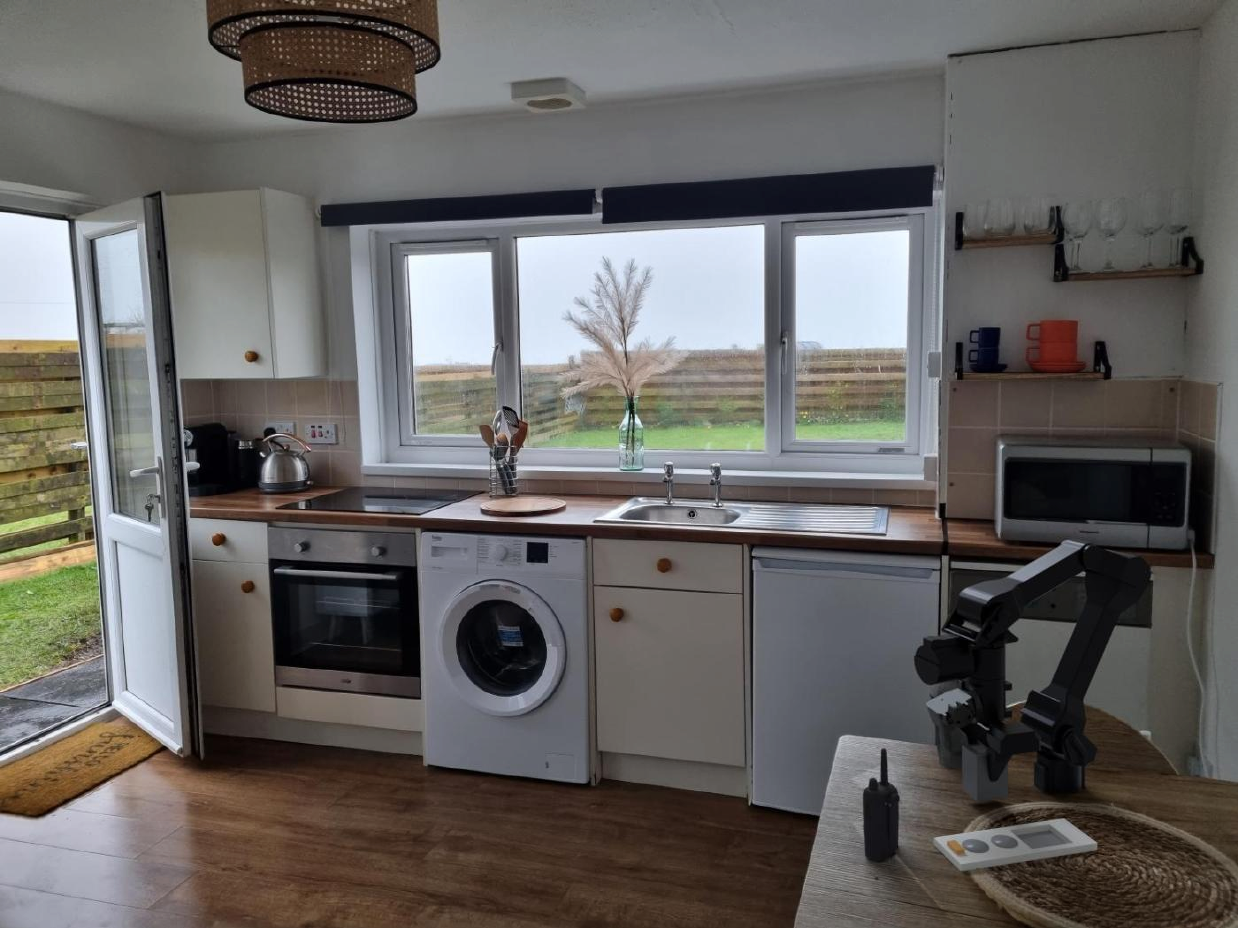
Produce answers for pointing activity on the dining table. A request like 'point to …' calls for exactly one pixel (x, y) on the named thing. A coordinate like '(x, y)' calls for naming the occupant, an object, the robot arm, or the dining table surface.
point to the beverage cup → (948, 735)
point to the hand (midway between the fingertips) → (985, 774)
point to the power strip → (1014, 844)
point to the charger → (981, 775)
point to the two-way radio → (881, 815)
